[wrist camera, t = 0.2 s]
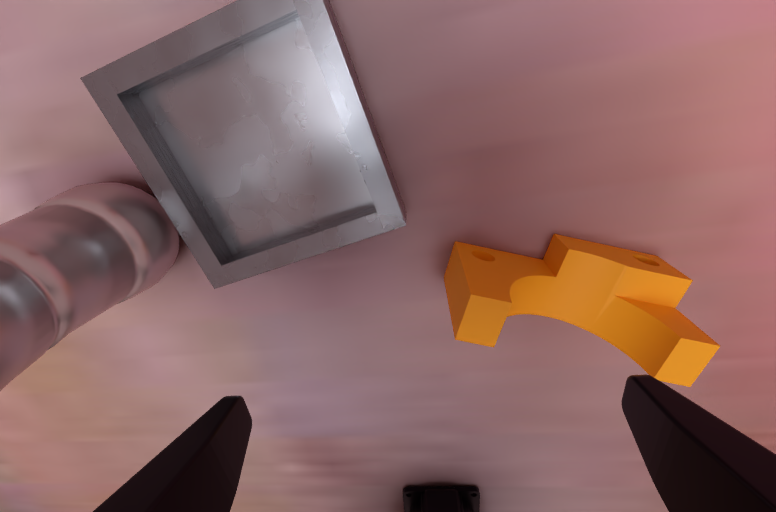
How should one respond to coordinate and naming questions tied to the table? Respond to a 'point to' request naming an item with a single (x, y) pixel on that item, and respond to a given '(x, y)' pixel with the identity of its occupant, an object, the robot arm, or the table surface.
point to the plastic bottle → (76, 265)
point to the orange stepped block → (582, 300)
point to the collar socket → (253, 136)
